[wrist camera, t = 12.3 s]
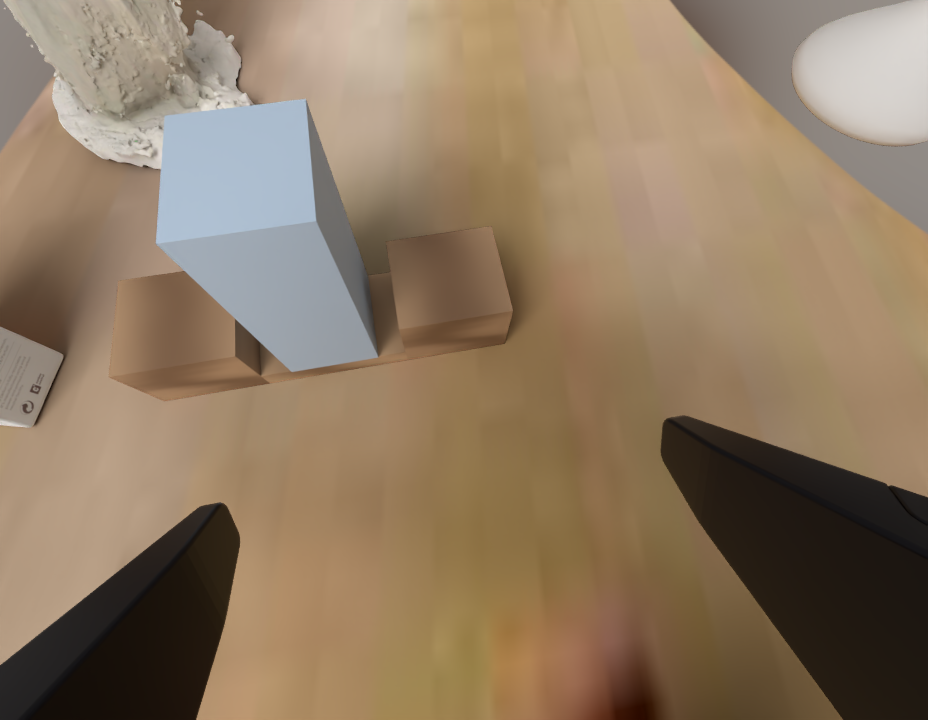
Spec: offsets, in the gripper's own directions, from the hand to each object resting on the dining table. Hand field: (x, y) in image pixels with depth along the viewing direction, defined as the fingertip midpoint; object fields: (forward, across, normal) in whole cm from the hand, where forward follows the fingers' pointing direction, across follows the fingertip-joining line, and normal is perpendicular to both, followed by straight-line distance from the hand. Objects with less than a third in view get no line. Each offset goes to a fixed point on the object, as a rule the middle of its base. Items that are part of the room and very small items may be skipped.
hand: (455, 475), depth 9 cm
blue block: (+16, +5, +1) cm, 17 cm away
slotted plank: (+17, +5, +2) cm, 18 cm away
